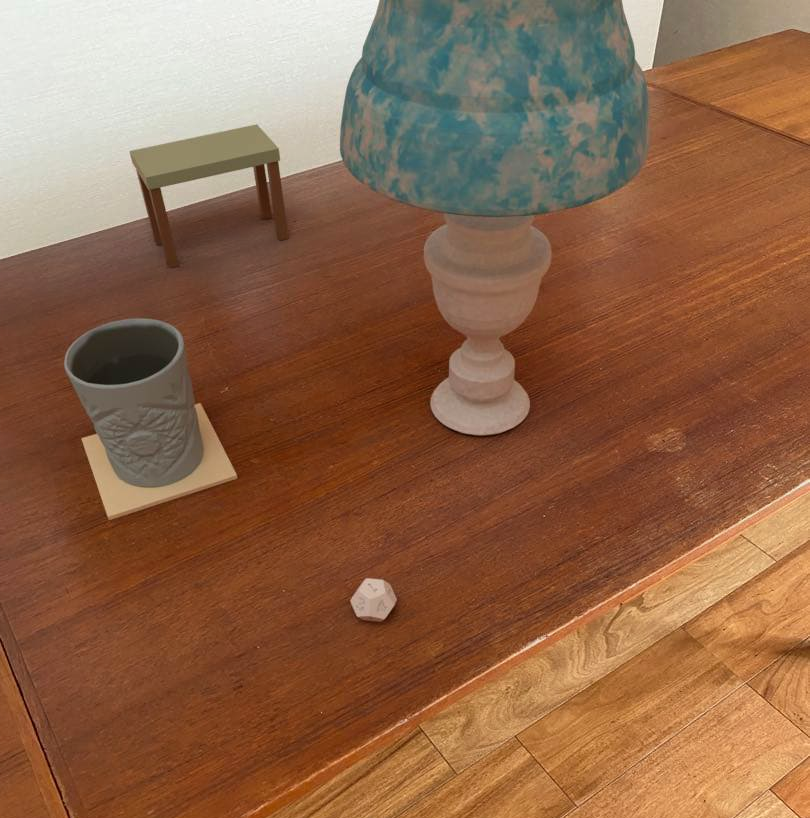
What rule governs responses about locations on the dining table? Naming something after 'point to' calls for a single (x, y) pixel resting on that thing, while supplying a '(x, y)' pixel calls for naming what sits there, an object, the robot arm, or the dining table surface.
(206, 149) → the side table
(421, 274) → the dining table surface
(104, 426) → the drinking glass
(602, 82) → the table lamp
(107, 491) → the mat
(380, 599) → the game die
